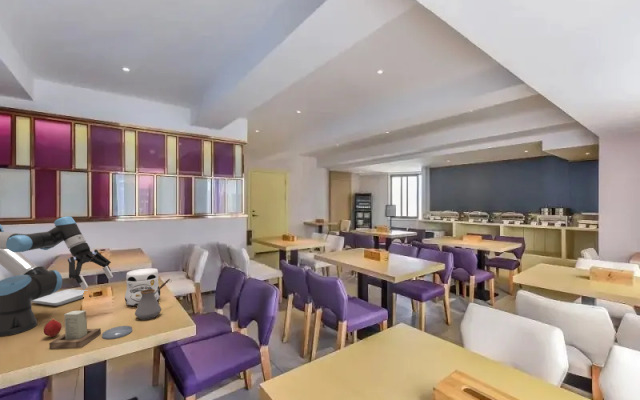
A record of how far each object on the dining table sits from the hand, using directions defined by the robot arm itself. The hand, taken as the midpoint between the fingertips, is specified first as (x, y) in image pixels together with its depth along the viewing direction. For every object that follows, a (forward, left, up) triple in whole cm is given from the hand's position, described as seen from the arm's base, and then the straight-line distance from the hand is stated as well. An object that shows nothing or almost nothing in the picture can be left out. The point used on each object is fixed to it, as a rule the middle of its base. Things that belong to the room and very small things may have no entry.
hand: (98, 283), depth 151 cm
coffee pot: (+25, +4, -18) cm, 31 cm away
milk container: (+11, +20, -18) cm, 29 cm away
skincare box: (+6, -25, -18) cm, 31 cm away
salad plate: (-39, +30, -18) cm, 53 cm away
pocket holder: (+6, -25, -18) cm, 31 cm away
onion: (-7, -20, -18) cm, 27 cm away
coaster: (+19, -19, -18) cm, 32 cm away
